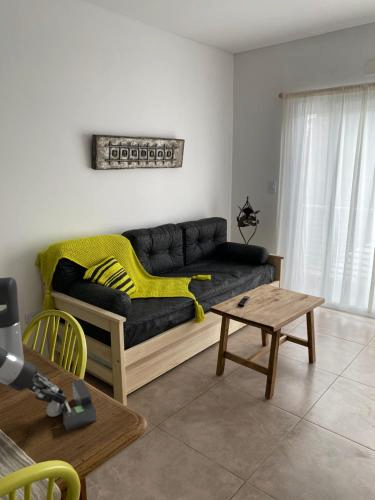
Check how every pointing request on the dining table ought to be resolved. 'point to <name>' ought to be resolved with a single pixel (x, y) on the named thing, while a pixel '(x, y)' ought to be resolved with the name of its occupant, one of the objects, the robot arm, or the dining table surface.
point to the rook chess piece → (54, 405)
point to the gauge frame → (80, 407)
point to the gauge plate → (66, 405)
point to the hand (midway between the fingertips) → (62, 397)
